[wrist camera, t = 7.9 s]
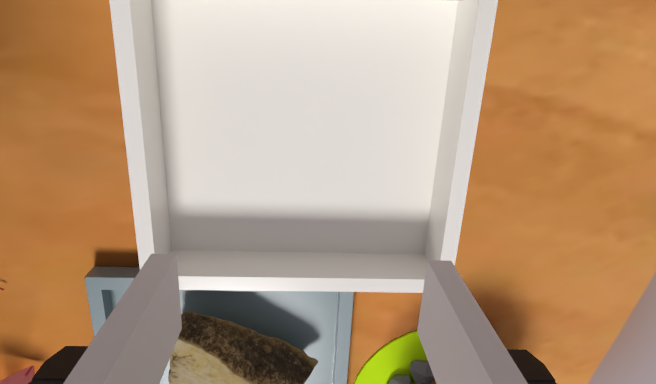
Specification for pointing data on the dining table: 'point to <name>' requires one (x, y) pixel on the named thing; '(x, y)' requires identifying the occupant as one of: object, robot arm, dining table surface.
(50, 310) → the dining table surface
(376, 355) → the toy cauldron
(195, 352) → the rock
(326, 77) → the dish
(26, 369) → the flower sculpture
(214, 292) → the tray
